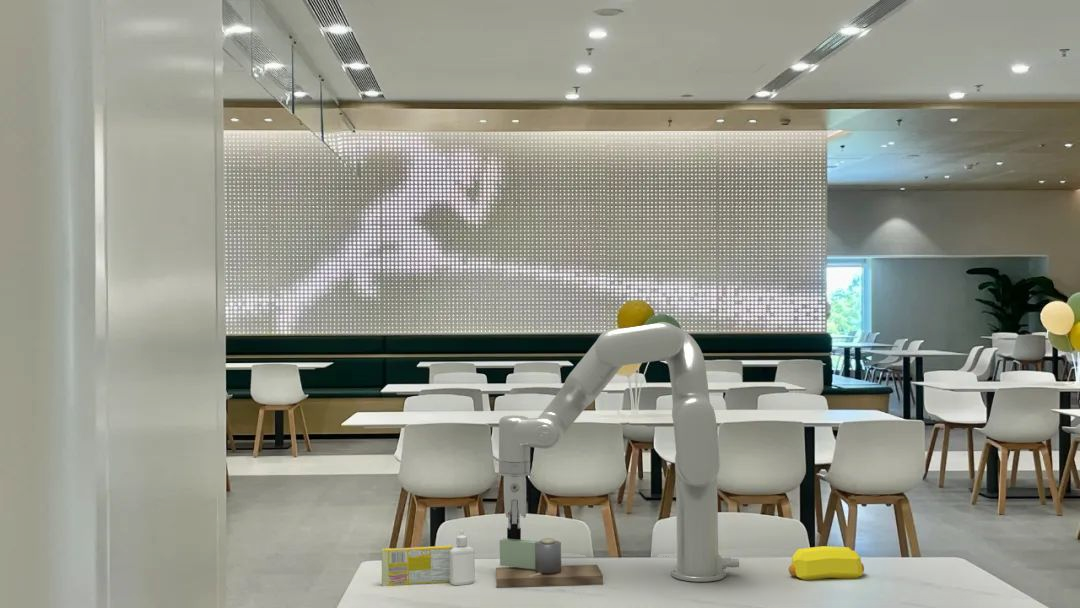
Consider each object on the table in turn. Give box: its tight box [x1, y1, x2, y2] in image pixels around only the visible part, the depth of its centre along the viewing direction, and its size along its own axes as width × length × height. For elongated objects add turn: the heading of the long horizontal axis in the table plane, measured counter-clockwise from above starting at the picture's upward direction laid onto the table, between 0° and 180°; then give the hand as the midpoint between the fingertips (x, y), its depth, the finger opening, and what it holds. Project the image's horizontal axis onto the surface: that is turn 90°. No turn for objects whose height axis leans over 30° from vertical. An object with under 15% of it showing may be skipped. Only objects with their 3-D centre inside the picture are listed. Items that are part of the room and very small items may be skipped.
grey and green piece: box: [499, 537, 562, 574], centre depth 222 cm, size 15×6×7 cm, turn 66°
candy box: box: [381, 545, 453, 587], centre depth 219 cm, size 16×2×8 cm, turn 97°
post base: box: [495, 564, 604, 589], centre depth 220 cm, size 24×10×2 cm, turn 94°
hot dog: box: [788, 545, 865, 581], centre depth 220 cm, size 18×7×8 cm
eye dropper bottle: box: [449, 530, 476, 586], centre depth 219 cm, size 4×6×12 cm
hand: (513, 545), depth 227 cm, fingers closed
